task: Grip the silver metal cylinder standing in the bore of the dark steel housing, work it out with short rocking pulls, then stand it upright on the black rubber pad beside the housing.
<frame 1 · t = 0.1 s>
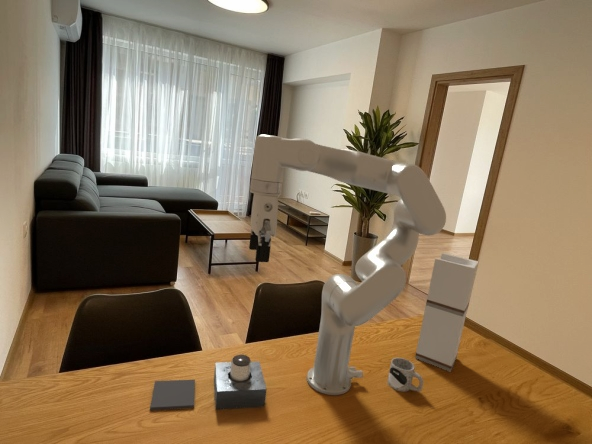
hand: (258, 255, 95), 37 cm above the table, tool pointing down, fingers open, 9 cm apart
silver metal cylinder: (239, 376, 98), in the housing
housing: (238, 392, 99), on the table
mug: (404, 387, 110), on the table
white mini fridge: (435, 359, 129), on the table
rubber pad: (173, 395, 95), on the table
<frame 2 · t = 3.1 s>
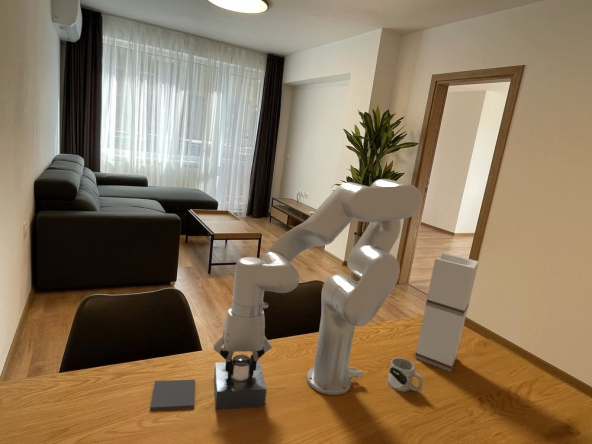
hand: (240, 372, 98), 6 cm above the table, tool pointing down, fingers closed on silver metal cylinder, 5 cm apart
silver metal cylinder: (239, 376, 98), in the housing, touching gripper
everything else where it was.
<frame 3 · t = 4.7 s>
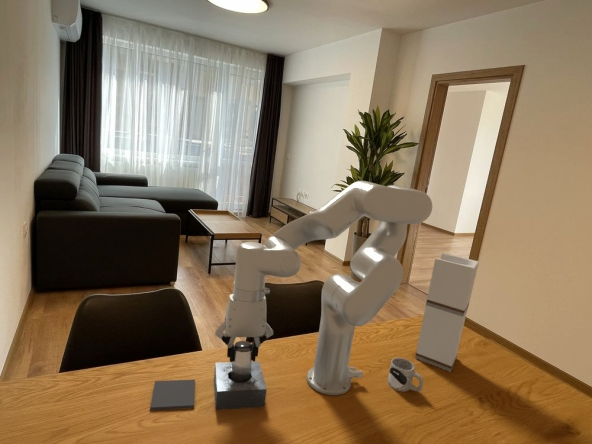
hand: (242, 358, 97), 10 cm above the table, tool pointing down, fingers closed on silver metal cylinder, 5 cm apart
silver metal cylinder: (241, 362, 98), point 9 cm above the table, touching gripper
everything else where it was.
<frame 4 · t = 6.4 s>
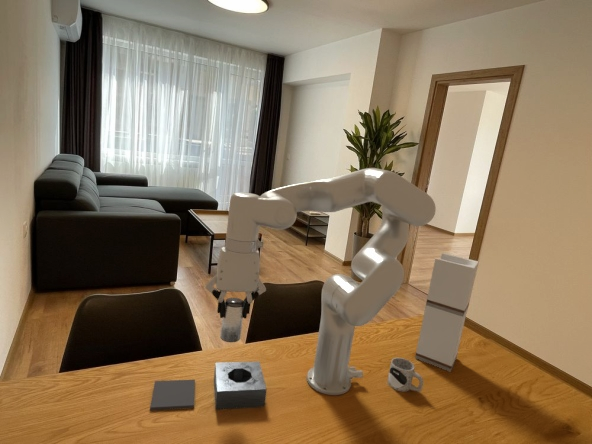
hand: (232, 315, 94), 22 cm above the table, tool pointing down, fingers closed on silver metal cylinder, 5 cm apart
silver metal cylinder: (232, 319, 94), point 21 cm above the table, touching gripper
everything else where it was.
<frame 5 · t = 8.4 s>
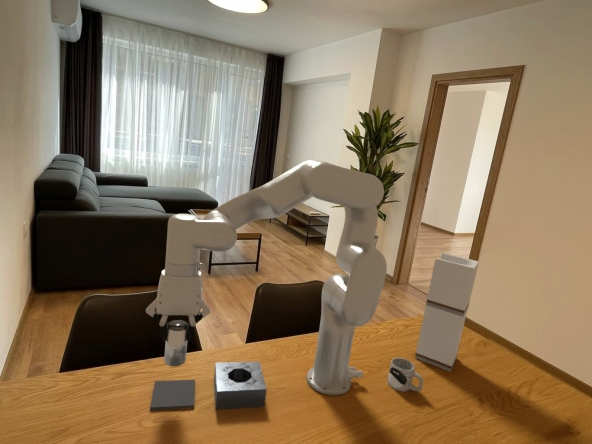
hand: (176, 338, 92), 16 cm above the table, tool pointing down, fingers closed on silver metal cylinder, 5 cm apart
silver metal cylinder: (176, 342, 92), point 14 cm above the table, touching gripper
everything else where it was.
when the fingers open (8 cm above the table, at t = 10.1 s): silver metal cylinder drops 1 cm, resting on rubber pad.
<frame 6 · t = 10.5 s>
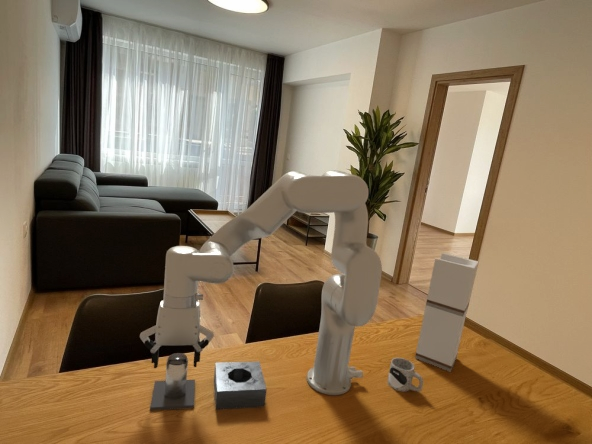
hand: (175, 364, 93), 9 cm above the table, tool pointing down, fingers open, 8 cm apart
silver metal cylinder: (176, 375, 94), on the rubber pad, point 6 cm above the table
everything else where it was.
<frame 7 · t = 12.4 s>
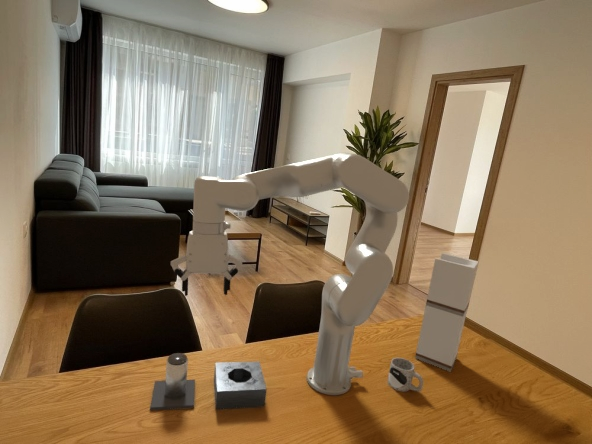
hand: (206, 293, 96), 25 cm above the table, tool pointing down, fingers open, 9 cm apart
nothing on the table moved.
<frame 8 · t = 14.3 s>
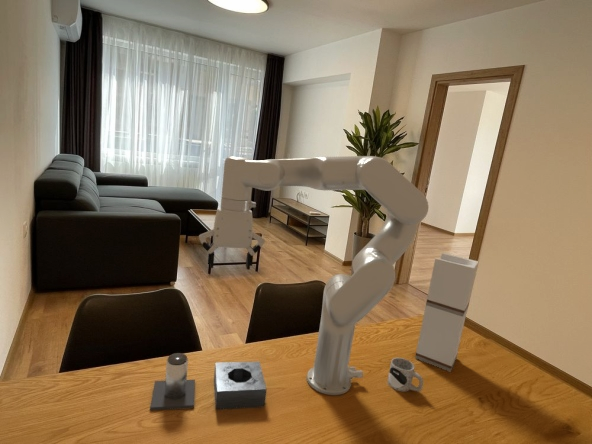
hand: (229, 267, 102), 30 cm above the table, tool pointing down, fingers open, 9 cm apart
nothing on the table moved.
at the end: silver metal cylinder inside the target area on the rubber pad (0.3 cm from its centre), point 5.6 cm above the rubber pad's base; silver metal cylinder tilted 0°; the gripper is holding nothing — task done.
